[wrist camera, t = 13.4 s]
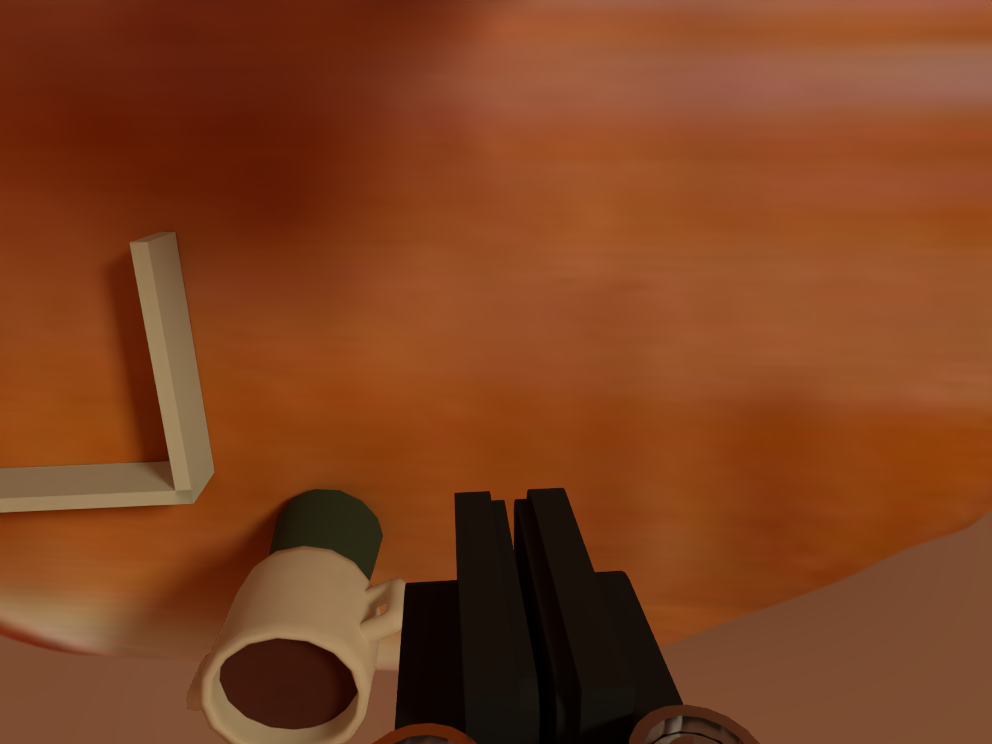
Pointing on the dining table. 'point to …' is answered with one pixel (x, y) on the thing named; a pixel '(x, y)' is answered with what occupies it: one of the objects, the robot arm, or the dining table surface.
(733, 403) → the dining table surface
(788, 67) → the dining table surface
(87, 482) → the corral
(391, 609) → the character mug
